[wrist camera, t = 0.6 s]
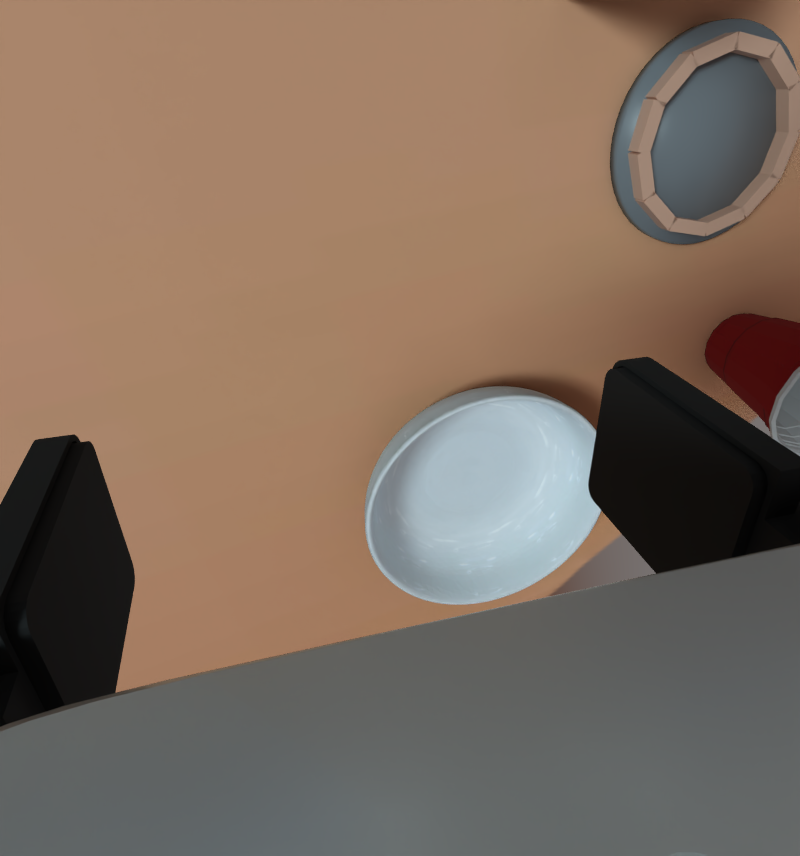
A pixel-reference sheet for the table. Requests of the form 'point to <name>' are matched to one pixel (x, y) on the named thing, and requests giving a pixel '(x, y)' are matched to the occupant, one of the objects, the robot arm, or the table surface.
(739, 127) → the ring tray
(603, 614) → the robot arm
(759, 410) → the plastic cup
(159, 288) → the table surface
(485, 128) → the table surface
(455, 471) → the serving bowl
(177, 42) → the table surface
